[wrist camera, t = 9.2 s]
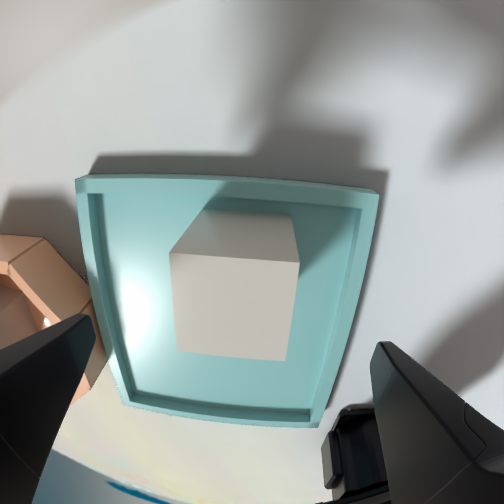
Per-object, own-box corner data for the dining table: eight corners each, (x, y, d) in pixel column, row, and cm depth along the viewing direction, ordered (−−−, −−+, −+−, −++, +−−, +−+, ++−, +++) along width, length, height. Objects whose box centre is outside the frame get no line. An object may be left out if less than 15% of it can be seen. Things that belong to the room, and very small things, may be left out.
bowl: (88, 241, 15) (52, 268, 12) (121, 386, 20) (105, 421, 17) (-26, 232, 16) (-56, 250, 13) (15, 354, 21) (-5, 378, 17)
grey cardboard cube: (290, 214, 14) (299, 262, 9) (282, 292, 15) (285, 361, 11) (202, 208, 14) (168, 252, 9) (202, 285, 16) (177, 350, 11)
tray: (371, 188, 14) (379, 194, 12) (316, 414, 20) (317, 427, 19) (87, 174, 14) (74, 179, 13) (128, 393, 20) (123, 405, 19)
